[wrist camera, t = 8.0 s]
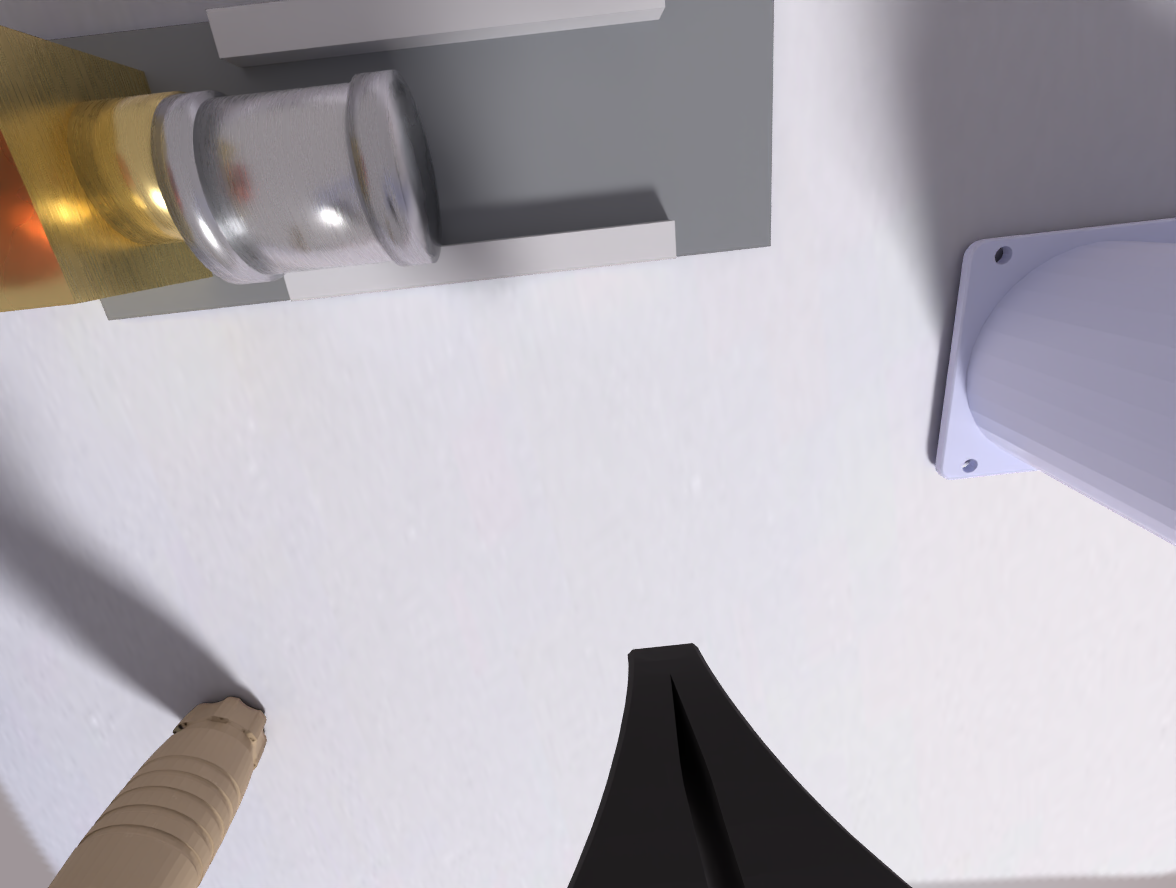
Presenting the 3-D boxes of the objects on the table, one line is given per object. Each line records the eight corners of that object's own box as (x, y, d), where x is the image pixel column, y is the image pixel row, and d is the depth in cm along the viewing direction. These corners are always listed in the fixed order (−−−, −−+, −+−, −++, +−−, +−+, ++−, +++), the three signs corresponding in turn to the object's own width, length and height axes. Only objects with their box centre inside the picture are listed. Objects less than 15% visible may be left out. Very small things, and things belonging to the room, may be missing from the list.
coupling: (407, 57, 15) (369, 86, 11) (448, 228, 17) (427, 291, 14) (210, 80, 15) (115, 115, 11) (282, 247, 17) (223, 314, 14)
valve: (219, 62, 15) (-26, -41, 9) (280, 269, 17) (114, 304, 11) (-30, 91, 15) (-451, 10, 9) (59, 294, 17) (-235, 344, 11)
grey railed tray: (769, -38, 15) (788, -62, 14) (766, 245, 18) (782, 248, 16) (8, 50, 15) (-44, 35, 14) (118, 318, 18) (82, 326, 17)
